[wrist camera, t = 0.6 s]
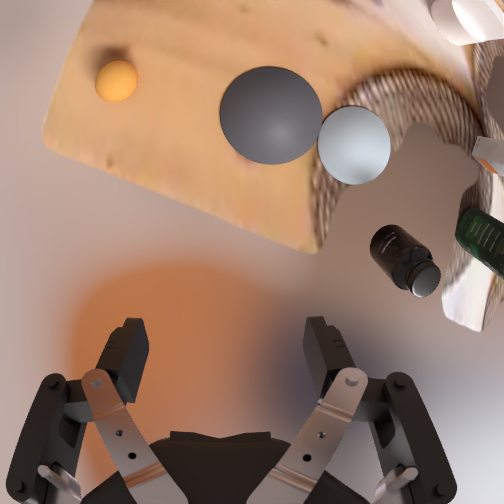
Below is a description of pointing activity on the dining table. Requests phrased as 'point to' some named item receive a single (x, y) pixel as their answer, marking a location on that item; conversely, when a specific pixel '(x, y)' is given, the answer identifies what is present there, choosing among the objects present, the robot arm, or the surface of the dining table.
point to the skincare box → (490, 154)
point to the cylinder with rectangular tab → (468, 20)
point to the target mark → (271, 115)
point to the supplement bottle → (405, 260)
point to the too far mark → (354, 145)
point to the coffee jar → (482, 238)
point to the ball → (116, 81)
